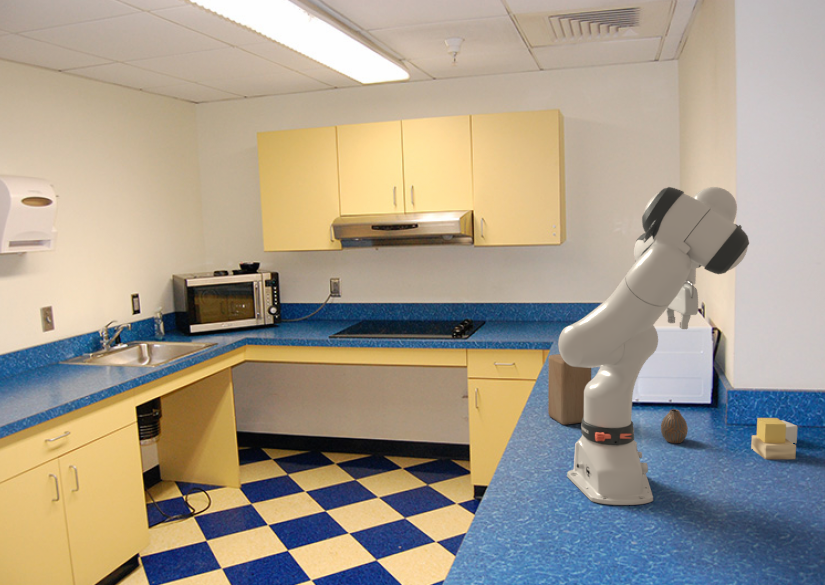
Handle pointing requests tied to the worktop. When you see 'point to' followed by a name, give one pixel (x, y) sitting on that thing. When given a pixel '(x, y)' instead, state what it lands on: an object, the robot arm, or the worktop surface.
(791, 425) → the grey cube
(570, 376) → the block
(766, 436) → the ochre cube
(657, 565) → the worktop surface
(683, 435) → the vase
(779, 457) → the maple base
